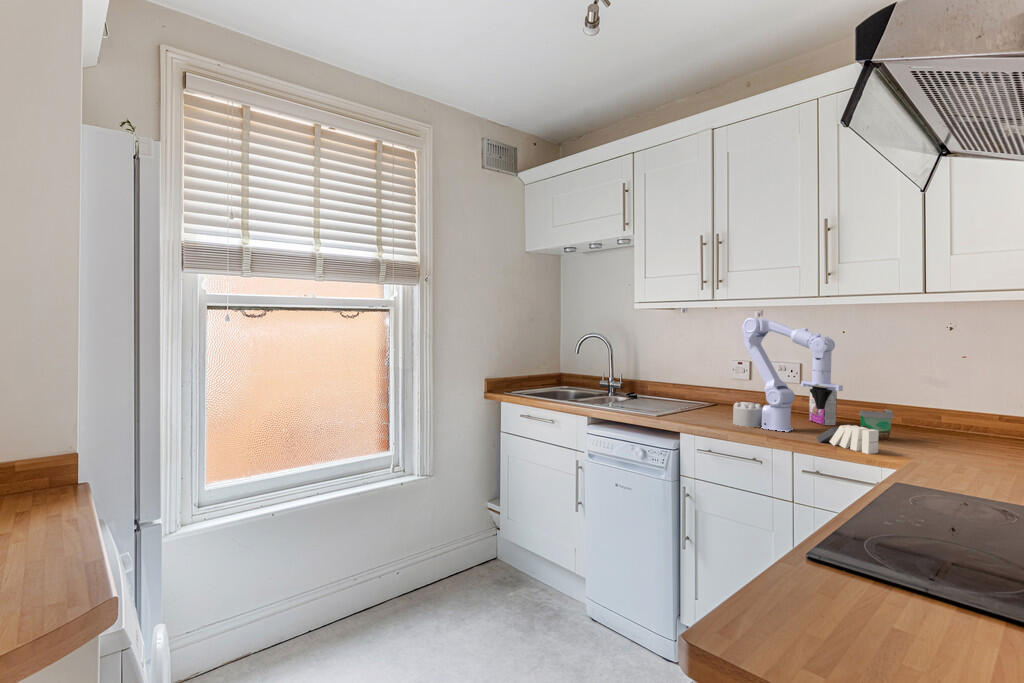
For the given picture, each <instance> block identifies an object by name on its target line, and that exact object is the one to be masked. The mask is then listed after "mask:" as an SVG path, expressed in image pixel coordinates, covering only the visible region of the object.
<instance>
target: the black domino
mask: <svg viewBox="0 0 1024 683" xmlns="http://www.w3.org/2000/svg"><path fill="white" fill-rule="evenodd" d="M839 427H840V426H831V427H830V428H828V429H827V430H826V431H823V432H822V433H820V434H819V435H817V436H816V439H817V441H818V443H819V442H820V443H827V441H830V440H831V438H832V437H833V435H834V434H835V433H836V431H837V430H838V428H839Z"/></svg>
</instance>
